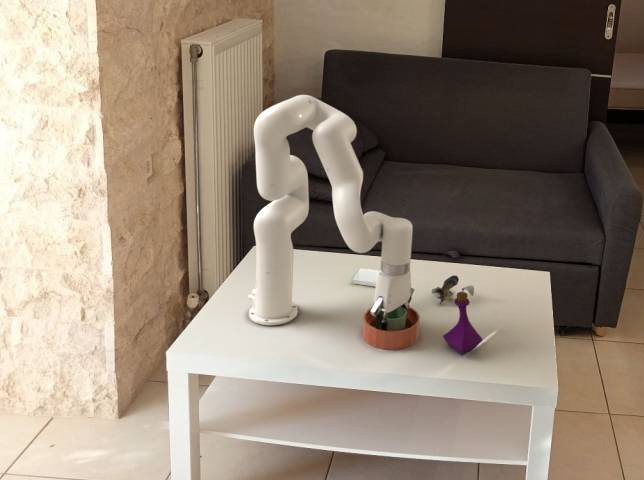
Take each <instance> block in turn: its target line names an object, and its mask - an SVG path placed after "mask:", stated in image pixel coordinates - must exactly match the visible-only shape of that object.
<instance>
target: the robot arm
mask: <svg viewBox="0 0 644 480" xmlns="http://www.w3.org/2000/svg"><path fill="white" fill-rule="evenodd" d="M253 125H254V126H253V138H254V139H253V140H254V148H255V173H256V174H255V175H256V176H255V177H256V188H257V191H258V193H259V196H261V198H262V199H264V200H266V201H268V202H269V201H270V202H269V203H268V204H267V205H266V206H264V207H263V208H261V209H260V210H259V212H258V213H257V214H256V216H255V218H254V220H253V234H254V237H255V238H254V239H255V250H256V251H255V253H256V254H255V255H256V256H255V267H256V268H255V287H254V288H253V289H252V290H251V293H249V294H248V296H247V299H248V300H251V301H252V306H251V307H250V308H249V311H248V317H249V319H250V320H251V321H252V322H254V323H255V324H258V325H261V326H279V325H283V324H286V323H289V322H291V321H292V320H294V319H295V318H296V317H297V315H298V310H299V309H298V306H297V304H296V303H294V302H293V287H294V286H293V283H294V258H295V257H294V253H295V252H294V245H293V242H292V235H291V234H292V233H293V232H294V231H295V230H296V229H297V228H298V227H300V225H302V224H303V223H304V222H305V221H306V219H307V218H308V215H309V211H310V196H309V176H308V170H307V167H306V165H305V163H304V162H303V161H302V160H301V159H300V158H299V157H297V156H296V155H292V154H291V148H290V143H289V141H288V139H287V137H288V136H290V135H293V134H296V133H297V132H299V131H302V130H304V129H306V128H307V129H310V130H311V131H313V132H312V135H311V139H312V143H313V146H314V148H315V152H316V153H317V156H318V158H319V160H320V162H321V164H322V167H323V169H324V171H325V173H326V176H327V178H328V180H329V183H330V185H331V198H332V207H333V214H334V219H335V223H336V226H337V227H338V230H339V232H340V235H341V236H342V239H343V241H344V243H345V244H346V245H347V247H348V249H350V250H352V251H353V252H355V253H358V254H364V253H367V252H369V251H371V250H372V249H373V248H374V247H375V246H376V244H377V243H379V242H380V243H381V255H380V270H379V271H381V272H380V273H379V274H378V278H377V282H376V287H375V289H374V296H373V306H374V307H373V306H372V307H373V308H372V307H371V308H372V310H371V311H370V313H371V314H372V316H373V317H374V318H375V320H376V329H379V330H384V331H387V322H386V319H387V316H388V314H389V312H391V311H393V310H395V309H396V308H398V307H400V306H401V307H403V308H405V309H406V311H407V312H408V308H409V307H410V302H411V301H412V297H413V295H414V292H415V288H413V287H412V274H411V273H412V272H411V260H412V259H411V258H412V246H413V230H414V229H413V224H412V222H411V220H409V219H407V218H404V217H393V216H390V215H388V214H385V213H383V212H379V211H375V210H371V211H370V210H369V211H367V212H365V213H363V209H362V205H361V192H362V191H361V190H362V185H363V182H364V171H363V168H362V167H361V164H360V161H359V159H358V157H357V155H356V153H355V150H354V148H353V145H352V142H353V141H354V140H355V139H356V137H357V134H358V130H357V129H358V128H357V126H356V124H355V121H354V120H353V119H352V118H351V117H350V116H349V115H348V114H346V113H344V112H342V111H341V110H338V109H337V108H336V107H333V106H331V105H329V104H327V103H325V102H323V101H322V100H320V99H318V98H316V97H314V96H312V95H308V94H299V95H296V96H293V97H291V98H289V99H285V100H283V101H281V102H279V103H276V104H273V105H272V106H270V107H268V108H266V109H265V110H263V111H262V112H260V114H259V115H258V116H257V118H256V120H255V122H254V124H253ZM383 306H384V309H383ZM382 311H383V312H385V313H384V315H383V317H382V316H381V312H382ZM406 323H407V320H406Z"/></svg>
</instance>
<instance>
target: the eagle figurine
mask: <svg viewBox="0 0 644 480" xmlns="http://www.w3.org/2000/svg"><path fill="white" fill-rule="evenodd" d="M459 280H460V278H459V277H458V275H456V274H455V275H454V274H453V275H451V276H449V277H447V278H446V279H445V280H444V281H443V284H442V286H441V287H440V286H436V287H434V288H432V289H431V294H436V293H437V294H438V295H439V296H437V297H436V298H437V299H438V300H440V301H439V306H440V305H442V304H443V303H444V302H445V300H446V299H447V298H448V299H450V300H451V301H453V298H452V296H453V295H454V292H452V291H451V290H452V289H453V288H454V287H456V286H457V285H458V283H459Z"/></svg>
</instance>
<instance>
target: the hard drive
mask: <svg viewBox="0 0 644 480" xmlns="http://www.w3.org/2000/svg"><path fill="white" fill-rule="evenodd" d="M380 272H381V271H380V270H377V269H371V268H365V267H364V268H363V267H360V269H358V271H357V273H356V274H355V276H354V277H353V279H352V284H353V285H360V286H361V285H362V286H368V287H376V282H377V278H378V274H379V273H380Z"/></svg>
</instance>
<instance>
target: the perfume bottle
mask: <svg viewBox="0 0 644 480" xmlns="http://www.w3.org/2000/svg"><path fill="white" fill-rule="evenodd" d="M465 290H466V291H467V292H468V293H469V295H470V296H471V297H473V296H474V295H475V286H474V285H466V286H464V287H462V288H461V291H459V292H457V293H456V298H455V299H454V300H453V303H454V305H455V306H457V308H458V311H459V318H458V321H457V323H456V325H454V326H453V327H452V328H451V329H450V330H449V331H447V332H446V333H444V334H443V336H442V338H443V340H444V341H445V342H446V343H447V345H448V346H449V348H451V349H452V350H453V351H454V352H456V353H458V354H459V355H461V356H462V355H463V356H464V355H466V354H468V353H470V352H472V351H474V350H475V349H476V348H477V347H478V346H479V345H480V344H481V343H482V342H483V341H484V340H483V338H482V336H481V335H480V334H479V333H478V331H477V330H476V329H475V327H474V326H473V325H472V324H471V321H470V320H469V315H468V312H467V307H468V306H469V305H470V299H469V298H468V296H469V295H468V293H467V292H465Z"/></svg>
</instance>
